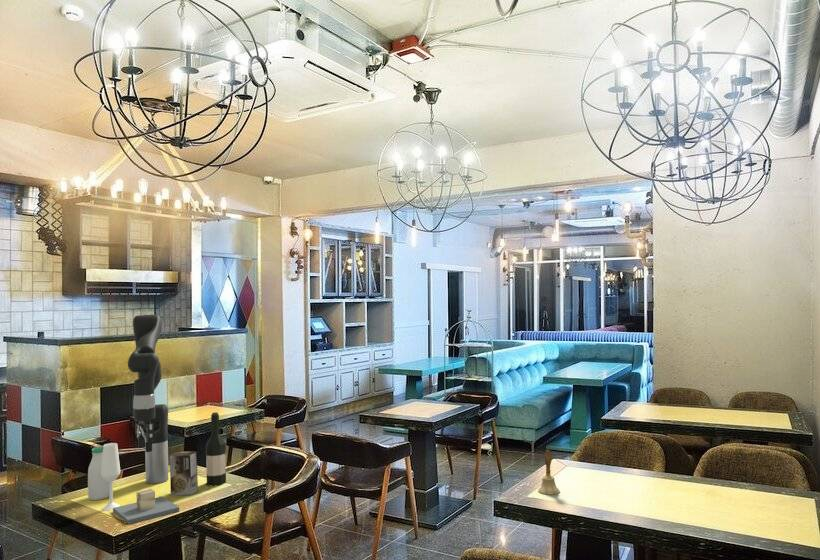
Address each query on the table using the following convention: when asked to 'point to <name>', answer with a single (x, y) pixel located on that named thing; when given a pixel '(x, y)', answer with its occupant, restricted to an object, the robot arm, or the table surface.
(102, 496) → the milk bottle
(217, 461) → the wine bottle
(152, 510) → the slate board
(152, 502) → the birch block
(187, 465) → the coffee box
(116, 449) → the champagne flute
